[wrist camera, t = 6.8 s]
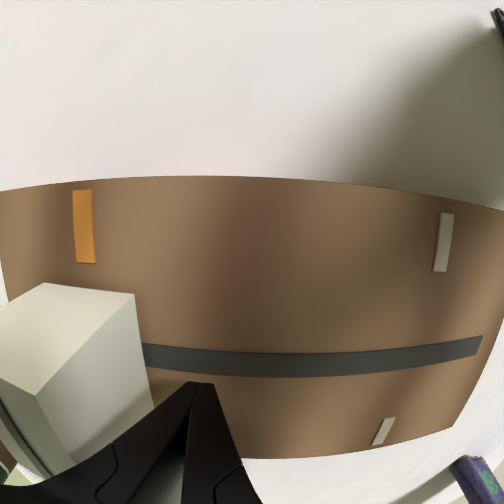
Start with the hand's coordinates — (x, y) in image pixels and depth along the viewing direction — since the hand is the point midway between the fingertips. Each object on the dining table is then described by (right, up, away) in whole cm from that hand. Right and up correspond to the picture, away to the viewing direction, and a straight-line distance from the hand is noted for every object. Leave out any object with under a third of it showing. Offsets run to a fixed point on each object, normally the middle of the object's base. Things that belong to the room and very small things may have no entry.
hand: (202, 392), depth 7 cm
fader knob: (-4, 0, +1) cm, 4 cm away
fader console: (+2, +1, +4) cm, 4 cm away
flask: (+26, -19, +9) cm, 33 cm away
